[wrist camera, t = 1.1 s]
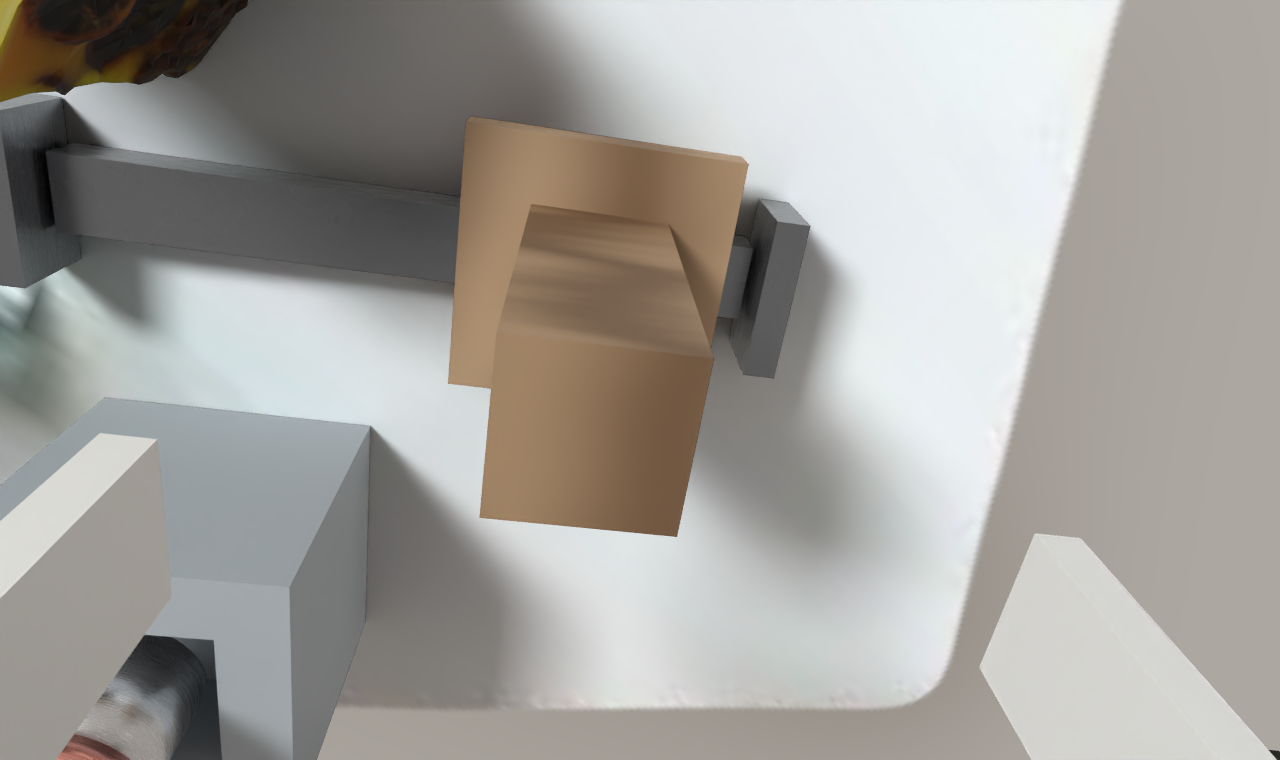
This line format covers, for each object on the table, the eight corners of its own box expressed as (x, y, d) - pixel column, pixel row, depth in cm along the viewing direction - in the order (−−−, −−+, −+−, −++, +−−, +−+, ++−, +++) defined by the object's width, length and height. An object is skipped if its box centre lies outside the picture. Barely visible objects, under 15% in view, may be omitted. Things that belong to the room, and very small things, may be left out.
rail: (48, 254, 27) (-12, 284, 24) (25, 92, 25) (-43, 104, 22) (756, 342, 30) (773, 378, 27) (788, 202, 28) (810, 226, 25)
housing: (129, 603, 33) (-23, 805, 25) (104, 397, 29) (-83, 555, 21) (365, 622, 34) (294, 822, 26) (370, 425, 30) (289, 587, 22)
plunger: (70, 726, 25) (-40, 882, 21) (50, 609, 23) (-74, 752, 19) (224, 736, 25) (150, 890, 21) (217, 622, 24) (133, 765, 19)
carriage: (460, 348, 29) (374, 589, 17) (477, 108, 26) (385, 206, 14) (688, 376, 30) (751, 621, 18) (733, 147, 27) (844, 269, 15)
